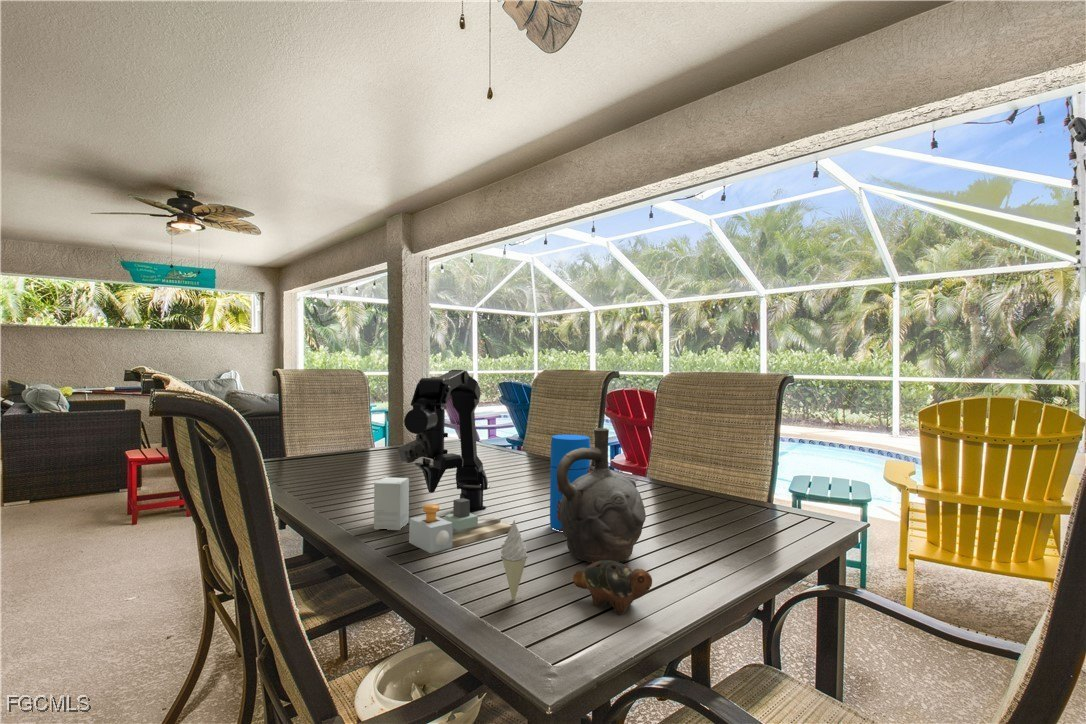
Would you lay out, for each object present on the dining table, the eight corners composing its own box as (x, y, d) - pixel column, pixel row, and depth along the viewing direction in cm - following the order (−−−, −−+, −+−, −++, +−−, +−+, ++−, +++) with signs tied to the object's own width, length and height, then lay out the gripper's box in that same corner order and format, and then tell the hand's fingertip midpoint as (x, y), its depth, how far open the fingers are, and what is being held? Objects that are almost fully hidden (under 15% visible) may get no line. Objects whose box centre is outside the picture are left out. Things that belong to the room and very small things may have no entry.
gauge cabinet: (430, 537, 132) (430, 513, 132) (452, 547, 124) (453, 523, 124) (409, 542, 127) (409, 518, 127) (431, 553, 120) (431, 528, 120)
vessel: (616, 588, 103) (619, 438, 103) (529, 562, 115) (531, 429, 116) (663, 553, 123) (664, 428, 123) (584, 535, 135) (586, 421, 136)
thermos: (543, 530, 139) (545, 438, 139) (557, 519, 148) (559, 433, 149) (582, 536, 134) (583, 440, 135) (593, 524, 144) (595, 436, 145)
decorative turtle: (646, 626, 88) (647, 579, 88) (564, 608, 94) (564, 564, 94) (657, 602, 97) (657, 560, 97) (581, 588, 103) (581, 548, 103)
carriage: (464, 520, 136) (464, 496, 137) (477, 525, 132) (478, 500, 132) (444, 525, 132) (445, 499, 132) (458, 530, 128) (458, 504, 128)
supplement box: (409, 522, 144) (410, 477, 144) (399, 531, 136) (400, 483, 136) (383, 521, 144) (384, 476, 144) (372, 529, 137) (373, 482, 137)
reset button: (433, 519, 129) (433, 503, 129) (442, 522, 126) (442, 506, 126) (419, 522, 126) (419, 506, 126) (428, 526, 123) (428, 509, 123)
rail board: (488, 522, 145) (489, 513, 145) (511, 531, 138) (512, 521, 138) (430, 537, 132) (430, 526, 132) (452, 547, 124) (452, 536, 124)
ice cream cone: (500, 593, 99) (501, 516, 100) (526, 593, 100) (527, 516, 100) (500, 605, 94) (501, 524, 95) (527, 605, 95) (528, 523, 95)
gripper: (384, 427, 127) (383, 490, 127) (423, 435, 114) (422, 505, 114) (423, 424, 135) (422, 484, 135) (465, 431, 122) (463, 497, 121)
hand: (431, 492), depth 126 cm, fingers closed
